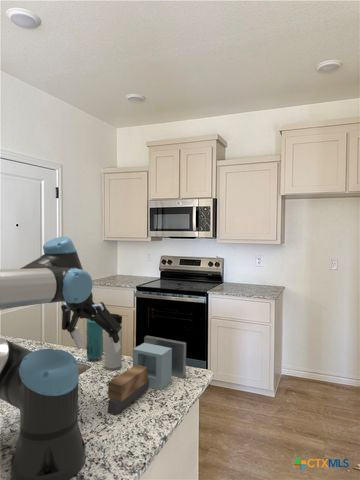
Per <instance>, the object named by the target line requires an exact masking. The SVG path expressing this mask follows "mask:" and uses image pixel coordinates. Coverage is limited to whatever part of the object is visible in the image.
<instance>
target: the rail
mask: <svg viewBox="0 0 360 480" xmlns="http://www.w3.org/2000/svg"><path fill="white" fill-rule="evenodd" d="M149 388H150V387H149V378H148V382H146V383H145V384H144V385H142V386H141V387H140V388H139V389H137V390H136V391H135V392H133V393H132V394H131V395H129V396H128V397H127V398H125V399H124V400H123V401H122V402H120V401H117V400H113V399H110V398H108V401H107V413H108V414H111V415H115V416H117V415H118V414H120V413H121V412H122V411H123V410H124V409H126V408H127V407H128V406H129V405H130V404H132V403H133V402H135V401H136V400H137V399H138V398H139V397H140V396H141V395H143V394H144V393H145V392H147V391H148V390H149Z"/></svg>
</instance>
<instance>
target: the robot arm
mask: <svg viewBox="0 0 360 480" xmlns="http://www.w3.org/2000/svg"><path fill="white" fill-rule="evenodd" d="M42 249H43V253H44V254H42V255H41V256H40V257H38V258H37V259H35V260H32V261H31V262H29V263H28V264H26V265H24V266H22V267H20V268H2V269H1V268H0V310H5V309H11V308H19V307H28V306H33V305H34V306H35V305H43V304H53V303H59V302H64V303H63V304H61V306H60V309H61V311H62V313H61V314H62V317H61V330H62V331H67V332H68V333H69V335H70V336H71V337H70V338H71V339H72V340H73V341H74V344H75V346H76V348H77V350H81V349H82V348H83V346H84V345H85V341H84V339H83V336H82V333H81V331H80V328H79V327H78V326H77V324H78V322H79V319H86V320H88V319H90V320H91V321H94V322H96V323H97V324H98V325H99V326H100V327H102V328H103V331H104V332H105V331H106V332H107V333H109V335H108V338H109V340H110V343H111V346H112V348H113V351H114V353H116V354H117V352H118V351H119V349H120V348H121V346H120V343H119V340H120V338H119V336H118V332H119V331H120V330H121V328H122V329H123V326H122V327H121V325H120V324H119V323H118V322H117V321H116V319H115V318H114V317H113V316H112V315H111V314H112V313H110V311H109V310H108V309H107V307H106V306H105V303H104V302H102V301H100V302H99V303H95V302H94V301H93V291H92V290H93V279H92V278H93V277H92V276H91V274H90V273H89V272H88V271H86V270H85V269H83V265H82V263H81V261H80V258H79V255H78V252H77V249H76V247H75V245H74V242H73V241H72V239H71V238H70V237H68V236H58V237H54V238H52V239H49V240H48V241H46V242H45V243H44V244H42ZM72 312H73V313H72ZM94 312H95V313H96V315H93V314H94ZM71 315H72V316H71ZM93 316H94V317H93ZM78 365H79V363H78V361H77V358H76V357H75V356H74V355H73V354H72V353H70V352H68V351H66V350H63V349H59V348H56V349H52V348H42V349H37V350H30V349H28V348H25V347H23V346H21V345H19V344H17V343H14V342H12V341H10V340H8V339H5V338H1V337H0V400H2V401H4V402H6V403H7V404H10V405H11V406H13V407H15V408H16V409H18V410H19V436H18V440H17V442H16V447H15V451H14V453H12V454H13V455H12V457H11V461H10V477H11V480H70V479H71V478H73V477H75V475H77V474H78V473H79V472H80V471H81V469H82V468H83V466H84V465H85V462H86V457H87V456H86V452H87V451H86V450H87V449H86V444H85V443H86V442H85V440H84V438H83V435H82V431H81V429H80V425H79V421H78V420H79V419H78V418H79V416H78V414H79V413H78V412H79V411H78V410H79V409H78V408H79V379H80V373H79V367H78Z"/></svg>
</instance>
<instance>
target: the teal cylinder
mask: <svg viewBox="0 0 360 480" xmlns="http://www.w3.org/2000/svg"><path fill="white" fill-rule="evenodd" d="M95 315H96V313H95V312H94V314H93V315H92V316H93V317H94V316H95ZM103 331H104V329H103V328H102V327H100V326H99V325H98V324H97V323H96V322H94V321H91V320H90V319H86V346H85V347H86V349H85V350H86V357H87V358H88V359H99V358H101V357H103V356H104V355H103V354H104V332H103Z"/></svg>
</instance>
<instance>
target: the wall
mask: <svg viewBox="0 0 360 480" xmlns="http://www.w3.org/2000/svg"><path fill="white" fill-rule="evenodd" d="M143 343H148V344H153V345H158V346H163V347H169V348H172V375H171V377H176V378H179V379H185V377H186V371H187V370H186V369H187V342H185V341H179V340H173V339H167V338H164V337H158V336H157V337H156V336H151V335H145V336H144V337H143Z"/></svg>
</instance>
